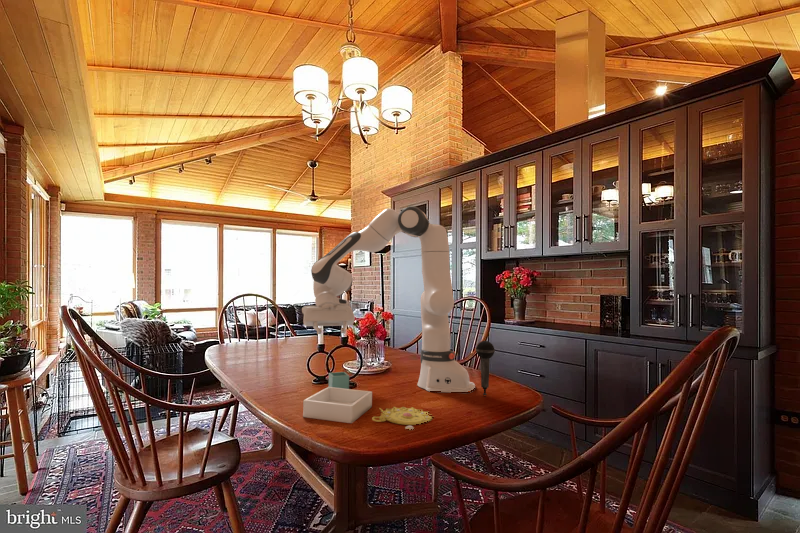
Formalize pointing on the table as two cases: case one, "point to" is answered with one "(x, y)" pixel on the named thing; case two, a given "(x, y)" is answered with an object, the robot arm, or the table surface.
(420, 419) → the decorative object
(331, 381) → the block
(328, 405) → the white open box
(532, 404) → the table surface
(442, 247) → the robot arm
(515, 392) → the table surface
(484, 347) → the microphone
